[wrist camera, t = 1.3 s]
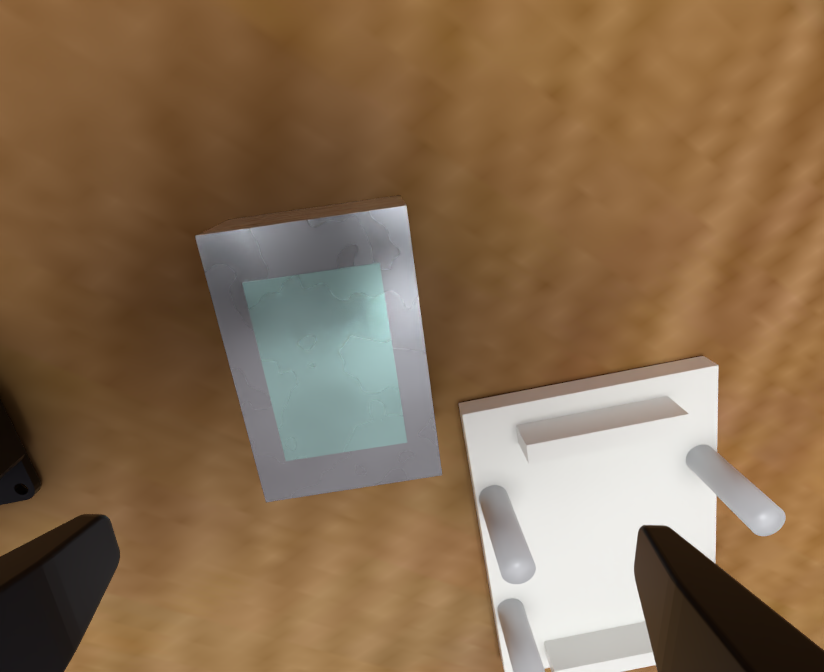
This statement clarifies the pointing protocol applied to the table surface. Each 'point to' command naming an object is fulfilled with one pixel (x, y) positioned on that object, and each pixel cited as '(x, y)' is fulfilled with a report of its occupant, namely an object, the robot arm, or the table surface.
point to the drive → (325, 345)
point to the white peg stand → (595, 505)
